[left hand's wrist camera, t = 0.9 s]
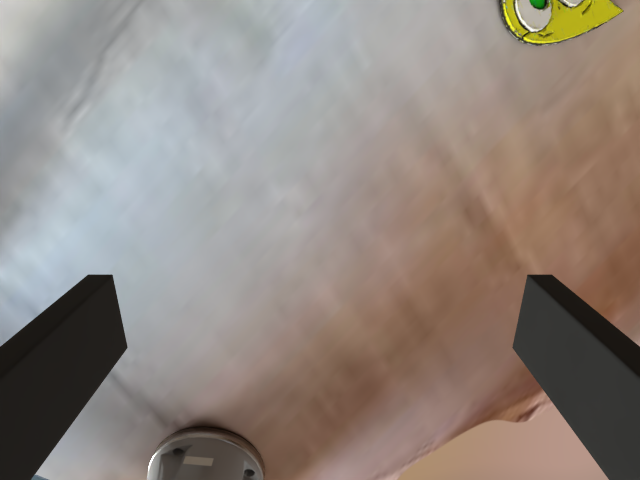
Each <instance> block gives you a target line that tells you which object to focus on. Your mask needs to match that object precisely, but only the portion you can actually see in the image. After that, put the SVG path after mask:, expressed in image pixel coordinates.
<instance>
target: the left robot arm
mask: <svg viewBox="0 0 640 480" xmlns="http://www.w3.org/2000/svg"><path fill="white" fill-rule="evenodd" d="M126 349H127V343H126V338H125V333H124V328H123V324H122V319H121V314H120V309H119V304H118V299H117V295H116V290H115V285H114V280H113V275H87V276H86V277H85V278H84V279H82V280H81V281H80V282H79V283H78V284H76V285H75V286H74V287H73V288H71V289H70V290H69V291H68V292H67V293H65V294H64V295H63V296H62V297H60V298H59V299H58V300H57V301H56V302H54V303H53V304H52V305H51V306H49V307H48V308H47V309H46V310H45V311H43V312H42V313H41V314H40V315H38V316H37V317H36V318H35V319H34V320H32V321H31V322H30V323H29V324H28V325H26V326H25V327H24V328H23V329H21V330H20V331H19V332H18V333H17V334H15V335H14V336H13V337H12V338H10V339H9V340H8V341H7V342H6V343H4V344H3V345H2V346H1V347H0V480H48V479H45V478H43V477H40V476H38V475H35V473H36V472H37V471H38V469H39V468H40V466H41V465H42V464H43V462H44V461H45V460H46V458H47V457H48V456H49V454H50V453H51V451H52V450H53V449H54V447H55V446H56V445H57V443H58V442H59V441H60V439H61V438H62V436H63V435H64V434H65V432H66V431H67V430H68V428H69V427H70V426H71V424H72V423H73V421H74V420H75V419H76V417H77V416H78V415H79V413H80V412H81V410H82V409H83V408H84V406H85V405H86V404H87V402H88V401H89V400H90V398H91V397H92V395H93V394H94V393H95V391H96V390H97V389H98V387H99V386H100V385H101V383H102V382H103V380H104V379H105V378H106V376H107V375H108V374H109V372H110V371H111V369H112V368H113V367H114V365H115V364H116V363H117V361H118V360H119V359H120V357H121V356H122V354H123V353H124V352H125V350H126ZM513 349H514V350H515V352H516V353H517V354H518V356H519V357H520V359H521V360H522V361H523V363H524V364H525V365H526V367H527V368H528V369H529V371H530V372H531V374H532V375H533V376H534V378H535V379H536V380H537V382H538V383H539V385H540V386H541V387H542V389H543V390H544V391H545V393H546V394H547V395H548V397H549V398H550V400H551V401H552V402H553V404H554V405H555V406H556V408H557V409H558V410H559V412H560V413H561V415H562V416H563V417H564V419H565V420H566V421H567V423H568V424H569V426H570V427H571V428H572V430H573V431H574V432H575V434H576V435H577V436H578V438H579V439H580V441H581V442H582V443H583V445H584V446H585V447H586V449H587V450H588V451H589V453H590V454H591V456H592V457H593V458H594V460H595V461H596V462H597V464H598V465H599V467H600V468H601V469H602V471H603V472H604V473H605V475H606V476H607V477H608V479H609V480H640V347H639V346H638V345H637V344H636V343H634V342H633V341H632V340H631V339H630V338H628V337H627V336H626V335H625V334H623V333H622V332H621V331H620V330H619V329H617V328H616V327H615V326H614V325H612V324H611V323H610V322H609V321H608V320H606V319H605V318H604V317H603V316H602V315H600V314H599V313H598V312H597V311H595V310H594V309H593V308H592V307H591V306H589V305H588V304H587V303H586V302H584V301H583V300H582V299H581V298H580V297H578V296H577V295H576V294H575V293H573V292H572V291H571V290H570V289H569V288H567V287H566V286H565V285H564V284H562V283H561V282H560V281H559V280H558V279H556V278H555V277H554V276H553V275H527V280H526V285H525V290H524V295H523V299H522V304H521V309H520V314H519V319H518V324H517V328H516V333H515V338H514V343H513ZM264 475H265V469H264V464H263V461H262V458H261V456H260V455H259V453H258V452H257V450H256V449H255V448H254V447H253V446H252V445H251V444H250V443H249V442H247V441H246V440H244V439H243V438H241V437H239V436H238V435H236V434H233V433H231V432H228V431H225V430H221V429H216V428H209V427H197V428H189V429H185V430H181V431H178V432H176V433H174V434H172V435H170V436H169V437H167V438H166V439H165V440H163V441H162V442H161V443H160V445H159V446H158V447H157V449H156V451H155V453H154V455H153V458H152V460H151V462H150V465H149V469H148V474H147V480H264Z"/></svg>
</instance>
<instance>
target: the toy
mask: <svg viewBox="0 0 640 480" xmlns="http://www.w3.org/2000/svg"><path fill="white" fill-rule="evenodd" d="M499 1H500V10H501V15H502V19H503V21H504V23H505V26H506V28H507V29H508V30H509V32H510V33H511V34H512V36H514V37H515V38H516V39H517V40H519V41H521V42H522V43H526V44H530V45H535V46H538V45H539V46H544V45H552V44H558V43H560V42H564V41H568V40H571V39H573V38H575V37H578V36H580V35H583V34H586V33H588V32H589V31H592V30H593V29H595V28H598V27H599V26H601V25H602V24H604V23H607V22H608V21H610V20H611V19H613V18H614V17H616V16H617V15H619V14H620V13H622V12H623V10H622V9H621V8H619V7H618V6H617V5H614V3H612V2H611V1H610V0H553V2H552V0H519V1H518V0H507V2H506V3H505V1H506V0H499ZM594 2H595V3H594ZM609 2H611V4H610V3H609ZM553 3H554V4H553ZM559 4H560V5H559ZM566 7H567V8H566ZM506 8H507V9H506ZM570 9H571V10H570ZM589 9H590V10H589ZM618 9H619V10H620V11H619V10H618ZM506 10H507V11H506ZM543 10H544V11H543ZM588 10H589V11H588ZM617 10H618V11H617ZM542 11H543V12H542ZM592 12H593V13H592ZM508 15H509V16H508ZM593 15H594V16H593ZM521 17H522V18H521ZM526 23H528V24H526ZM512 24H513V25H512ZM596 24H597V25H596ZM530 25H531V26H530ZM550 25H551V26H550ZM513 26H514V28H513ZM520 26H521V27H520ZM534 27H535V28H534ZM543 27H544V28H543ZM587 27H588V29H587ZM546 28H547V29H546ZM520 29H521V30H520ZM538 29H539V30H538ZM525 30H526V31H525ZM549 31H552V32H549ZM517 32H518V33H517ZM542 32H543V33H542ZM575 33H576V35H575ZM521 34H522V36H521ZM565 36H566V37H565ZM552 37H553V38H552ZM536 38H537V39H538V40H537V39H536ZM539 38H540V39H539ZM535 39H536V40H535ZM559 39H560V40H559Z"/></svg>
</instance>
